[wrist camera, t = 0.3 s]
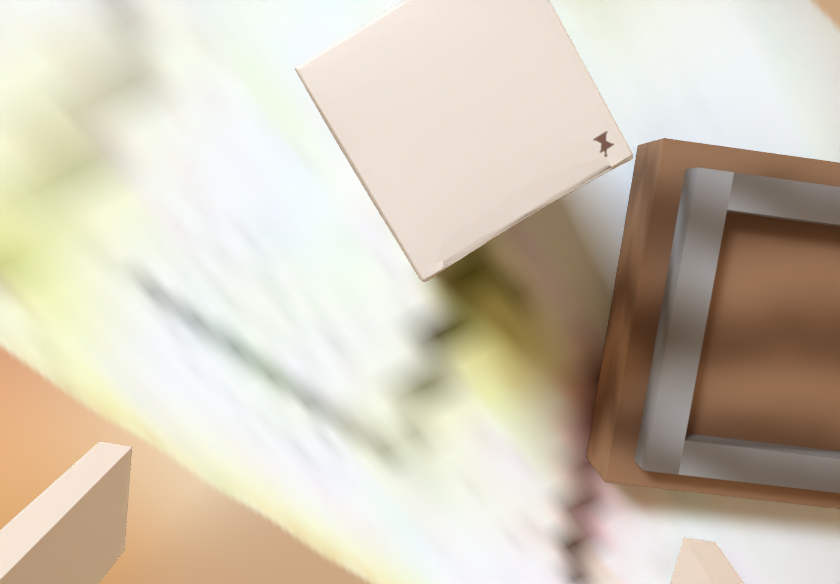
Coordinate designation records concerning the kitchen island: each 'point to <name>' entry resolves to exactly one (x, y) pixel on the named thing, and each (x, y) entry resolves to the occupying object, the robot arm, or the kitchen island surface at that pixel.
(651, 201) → the display riser
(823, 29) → the kitchen island surface
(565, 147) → the supplement box
